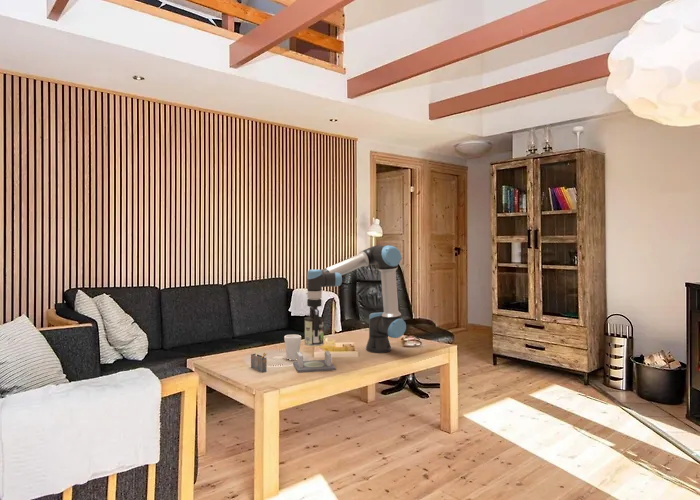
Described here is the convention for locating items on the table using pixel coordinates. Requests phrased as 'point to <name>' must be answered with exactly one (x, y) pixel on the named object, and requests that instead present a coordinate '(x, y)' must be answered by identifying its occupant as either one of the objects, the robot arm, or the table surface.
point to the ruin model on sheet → (259, 362)
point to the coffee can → (309, 331)
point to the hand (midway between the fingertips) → (314, 340)
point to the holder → (314, 364)
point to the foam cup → (292, 346)
